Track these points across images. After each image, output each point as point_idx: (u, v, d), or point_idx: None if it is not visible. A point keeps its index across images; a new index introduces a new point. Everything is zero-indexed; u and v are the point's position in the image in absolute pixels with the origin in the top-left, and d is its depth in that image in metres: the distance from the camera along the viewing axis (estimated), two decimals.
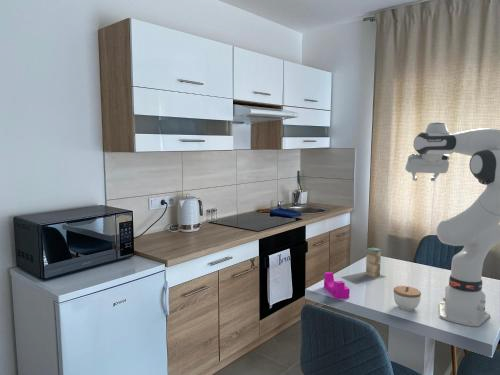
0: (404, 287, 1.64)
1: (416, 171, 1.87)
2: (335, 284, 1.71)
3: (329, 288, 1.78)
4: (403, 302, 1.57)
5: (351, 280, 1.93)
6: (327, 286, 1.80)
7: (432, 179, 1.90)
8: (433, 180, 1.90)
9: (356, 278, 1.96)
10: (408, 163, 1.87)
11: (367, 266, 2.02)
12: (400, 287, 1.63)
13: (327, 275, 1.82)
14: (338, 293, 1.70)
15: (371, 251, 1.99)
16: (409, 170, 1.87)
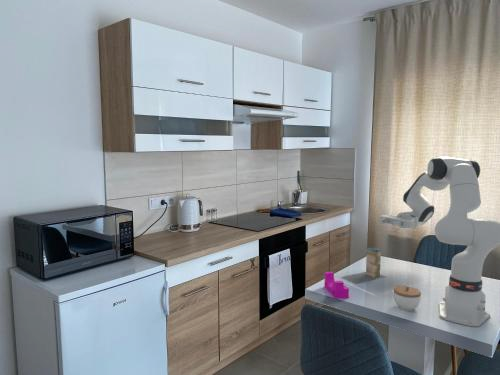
0: (404, 287, 1.64)
1: (385, 216, 2.11)
2: (334, 284, 1.71)
3: (329, 288, 1.78)
4: (403, 302, 1.57)
5: (351, 280, 1.93)
6: (327, 286, 1.81)
7: (393, 222, 2.01)
8: (393, 222, 2.00)
9: (356, 278, 1.96)
10: None
11: (367, 266, 2.02)
12: (400, 287, 1.63)
13: (327, 275, 1.83)
14: (337, 292, 1.70)
15: (371, 251, 1.99)
16: (381, 215, 2.14)
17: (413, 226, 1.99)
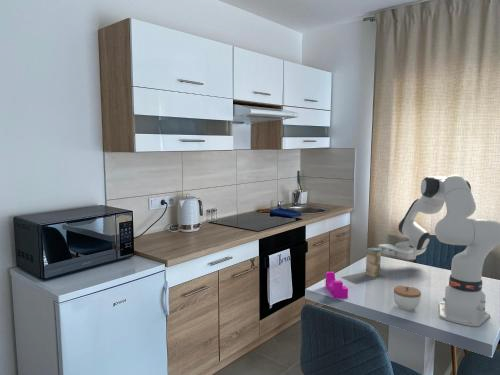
0: (404, 287, 1.64)
1: (384, 246, 2.13)
2: (333, 283, 1.72)
3: (329, 288, 1.78)
4: (403, 302, 1.57)
5: (351, 280, 1.93)
6: (328, 285, 1.81)
7: (387, 251, 2.05)
8: (387, 251, 2.05)
9: (356, 278, 1.96)
10: None
11: (367, 266, 2.02)
12: (400, 287, 1.63)
13: (328, 274, 1.83)
14: (336, 292, 1.71)
15: (371, 251, 1.99)
16: None
17: (411, 257, 2.01)
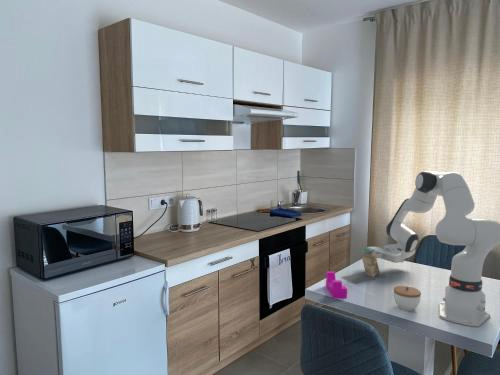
0: (404, 287, 1.64)
1: None
2: (332, 283, 1.72)
3: (329, 287, 1.79)
4: (403, 302, 1.57)
5: (351, 280, 1.93)
6: (328, 285, 1.82)
7: None
8: None
9: (356, 278, 1.96)
10: None
11: (365, 267, 2.01)
12: (400, 287, 1.63)
13: (328, 274, 1.84)
14: (335, 292, 1.71)
15: (365, 254, 1.96)
16: None
17: (399, 260, 1.96)
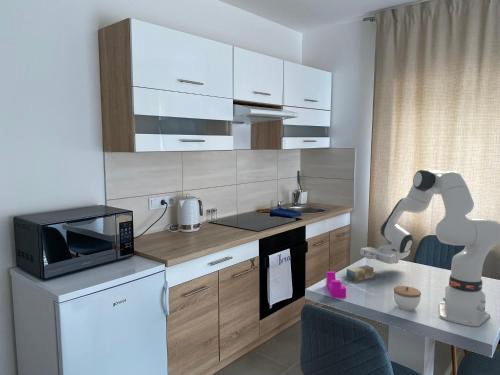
0: (404, 287, 1.64)
1: (366, 249, 2.06)
2: (331, 283, 1.73)
3: (329, 287, 1.79)
4: (403, 302, 1.57)
5: None
6: (328, 285, 1.82)
7: None
8: (368, 255, 1.98)
9: None
10: None
11: None
12: (400, 287, 1.63)
13: (329, 274, 1.84)
14: (334, 291, 1.71)
15: None
16: (361, 248, 2.09)
17: (393, 261, 1.94)
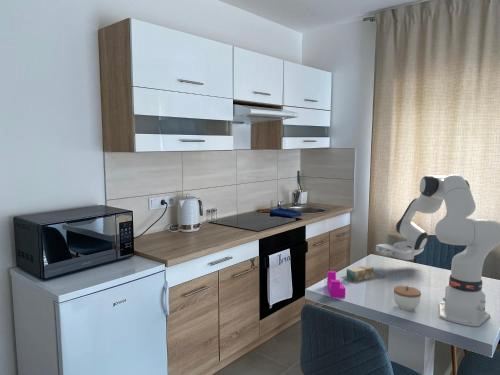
0: (404, 287, 1.64)
1: (382, 246, 2.12)
2: (331, 282, 1.73)
3: (329, 287, 1.80)
4: (403, 302, 1.57)
5: None
6: (328, 284, 1.82)
7: (384, 252, 2.05)
8: (384, 251, 2.04)
9: None
10: None
11: None
12: (400, 287, 1.63)
13: (329, 274, 1.84)
14: (333, 291, 1.72)
15: None
16: None
17: (409, 257, 2.01)
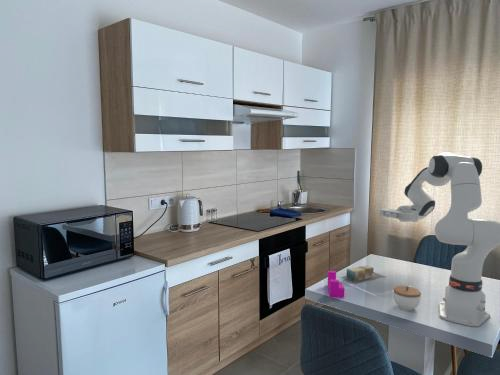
0: (404, 287, 1.64)
1: (385, 210, 2.10)
2: (330, 282, 1.73)
3: None
4: (403, 302, 1.57)
5: None
6: (328, 284, 1.83)
7: (388, 214, 2.03)
8: (389, 214, 2.03)
9: None
10: None
11: None
12: (400, 287, 1.63)
13: (329, 274, 1.84)
14: (332, 291, 1.72)
15: None
16: (381, 209, 2.14)
17: (413, 219, 1.99)
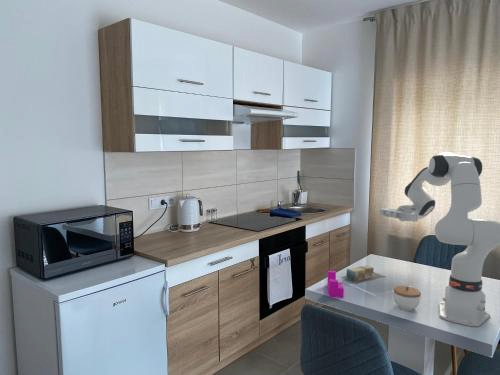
0: (404, 287, 1.64)
1: (386, 209, 2.10)
2: (329, 282, 1.74)
3: (328, 286, 1.80)
4: (403, 302, 1.57)
5: None
6: (328, 284, 1.83)
7: (388, 214, 2.03)
8: (389, 213, 2.03)
9: None
10: None
11: None
12: (400, 287, 1.63)
13: (329, 273, 1.85)
14: (331, 291, 1.72)
15: None
16: None
17: (413, 219, 1.99)
